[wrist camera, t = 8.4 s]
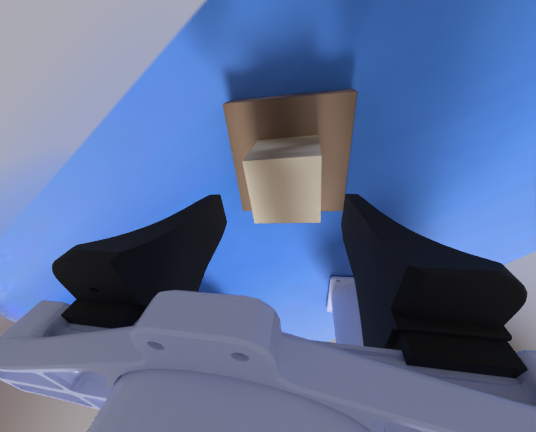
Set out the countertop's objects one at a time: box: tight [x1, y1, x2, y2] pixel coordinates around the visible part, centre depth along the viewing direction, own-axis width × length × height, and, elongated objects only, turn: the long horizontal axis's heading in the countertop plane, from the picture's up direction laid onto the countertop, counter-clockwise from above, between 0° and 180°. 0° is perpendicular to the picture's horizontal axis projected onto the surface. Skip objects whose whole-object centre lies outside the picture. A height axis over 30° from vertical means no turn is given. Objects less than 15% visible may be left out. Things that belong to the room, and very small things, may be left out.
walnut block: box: [223, 89, 358, 211], centre depth 20 cm, size 10×10×3 cm
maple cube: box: [242, 135, 322, 223], centre depth 17 cm, size 5×5×5 cm
